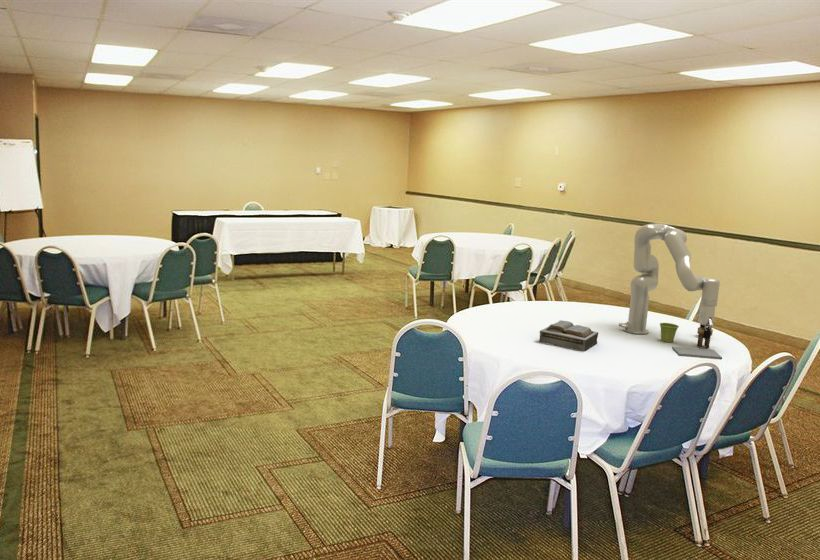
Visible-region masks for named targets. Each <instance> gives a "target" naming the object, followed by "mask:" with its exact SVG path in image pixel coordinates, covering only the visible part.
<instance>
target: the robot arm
mask: <svg viewBox="0 0 820 560" xmlns="http://www.w3.org/2000/svg"><path fill="white" fill-rule="evenodd" d="M653 240H660V241H664V244H665V246H666V247H667V249H668V251H669V253H670V255H671V257H672V259H673V261H674V263H675V270H676V274H677V277H678V280H679V281H680V283H681V285H682V287H683V288H684V289H685V290H686V291H688V292H696V291H701V290H702V291H701V298H700V302H701V308H700V313H698V319H697V320H698V323H699V327H705V330H704V336H703V338H705V339H710V340H711V337H710V336H711V329H712V328H713V326H714V323H715V315H716V314H715V313H716V312H715V311H716V307H717V306H718V300H719V299H718V298H719V293H720V292H719V291H720V285H721V284H720V283H721V282H720V280H719V279H718V278H715V277H713V278H712V277H706V276H704V275H699V274H698V275H694V273H693V270H692V269H691V266H690V262H691V259H692V254H691V252H690V250H689V248H688V246H687V245H686V242H687V240H688V236H687V233H686V232H685V231H684V230H681V229H678V228H676V227H673V226H671V225H668V224H665V223H660V222H659V223H657V222H656V223H648V224H645V225H642V226H640V227H639V228H637V230H636V232H635V234H634V244H633V245H634V251H633V252H634V253H633V268H634V270H635V271H636V272H638V273H641V274H640V275H639V274H638V275H637V276H635V277H633V279H632V280H631V282H630V301H629V302H630V303H629V311H628V312H629V313H628V320H627V321H626V322H625V323H623V322H618V327H621V328H623V330H624V331H625V332H626V333H630V334H633V335H635V334H636V335H648V334H649V330H648V329H647V323H648V322H647V319H648V315H649V314H648V313H649V302H650V296H649V295H650V294H649V292H651V291H653V290H655V289H657V286H658V283H659V269H660V267H659V259H658V258H657V257H656V256H655V255H653V254H652V246H651V241H653ZM712 330H713V329H712ZM705 339H704V340H705Z"/></svg>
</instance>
